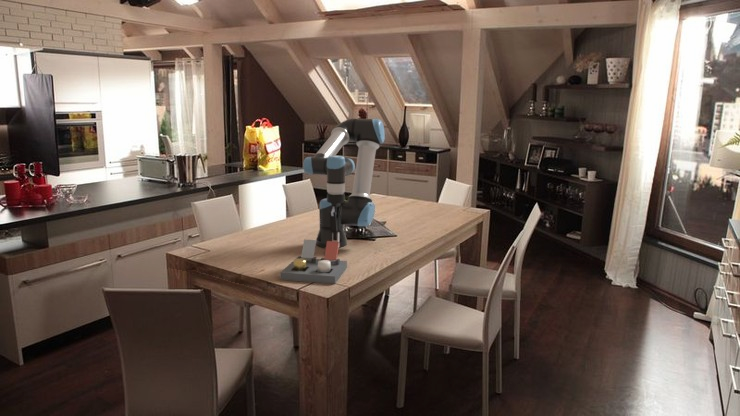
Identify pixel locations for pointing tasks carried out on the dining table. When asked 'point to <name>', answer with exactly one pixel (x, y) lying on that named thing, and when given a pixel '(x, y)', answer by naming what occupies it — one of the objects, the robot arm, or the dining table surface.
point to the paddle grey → (308, 250)
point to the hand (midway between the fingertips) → (335, 246)
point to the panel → (314, 272)
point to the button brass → (299, 264)
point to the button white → (324, 266)
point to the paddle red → (331, 251)
